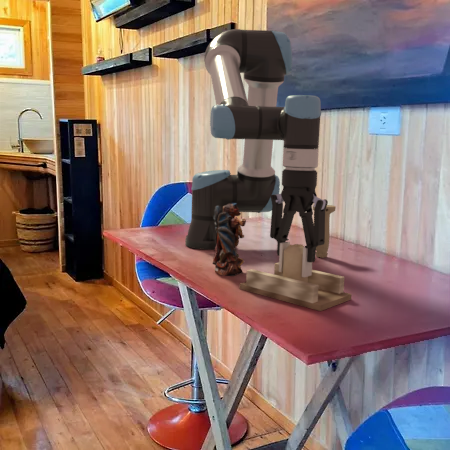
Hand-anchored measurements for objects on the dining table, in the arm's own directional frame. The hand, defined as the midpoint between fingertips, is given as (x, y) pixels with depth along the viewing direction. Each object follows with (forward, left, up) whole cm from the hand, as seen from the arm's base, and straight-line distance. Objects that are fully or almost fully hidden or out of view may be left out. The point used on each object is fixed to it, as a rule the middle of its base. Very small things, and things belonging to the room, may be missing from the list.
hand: (294, 273), depth 125 cm
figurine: (-23, +4, -5) cm, 24 cm away
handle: (-17, +37, -5) cm, 41 cm away
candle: (0, 0, -4) cm, 4 cm away
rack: (0, 0, -5) cm, 5 cm away
